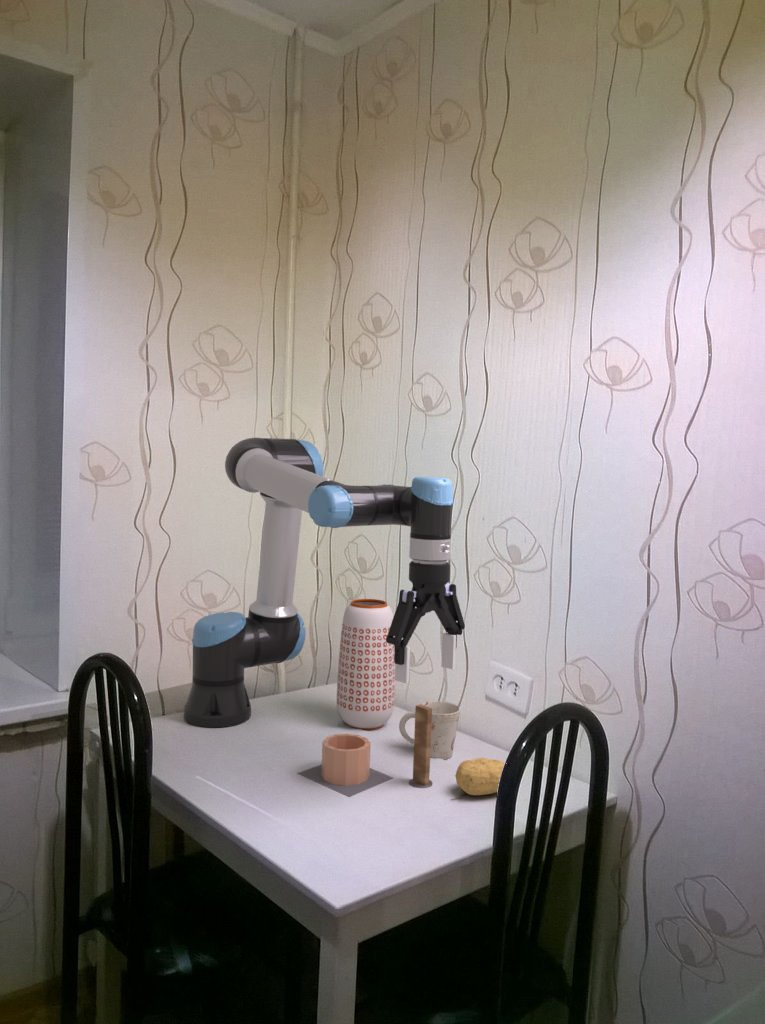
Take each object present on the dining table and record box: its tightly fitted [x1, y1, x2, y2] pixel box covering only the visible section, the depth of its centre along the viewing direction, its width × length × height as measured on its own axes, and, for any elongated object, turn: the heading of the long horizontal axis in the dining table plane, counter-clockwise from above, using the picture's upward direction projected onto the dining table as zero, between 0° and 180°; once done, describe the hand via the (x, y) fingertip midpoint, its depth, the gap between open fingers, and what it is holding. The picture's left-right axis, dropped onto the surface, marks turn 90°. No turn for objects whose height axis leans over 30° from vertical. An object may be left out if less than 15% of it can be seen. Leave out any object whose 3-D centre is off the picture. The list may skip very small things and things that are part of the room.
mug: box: [398, 700, 461, 760], centre depth 160 cm, size 8×13×10 cm, turn 78°
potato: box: [455, 757, 506, 796], centre depth 143 cm, size 7×11×6 cm, turn 106°
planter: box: [336, 598, 396, 731], centre depth 176 cm, size 13×13×28 cm
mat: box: [297, 763, 394, 798], centre depth 147 cm, size 14×12×1 cm
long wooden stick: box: [408, 704, 433, 789], centre depth 145 cm, size 4×4×15 cm
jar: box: [321, 733, 372, 786], centre depth 147 cm, size 9×9×6 cm
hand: (425, 674), depth 144 cm, fingers open, 13 cm apart
